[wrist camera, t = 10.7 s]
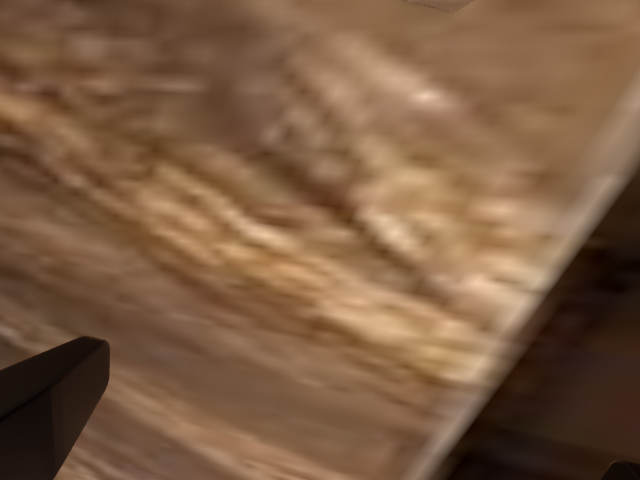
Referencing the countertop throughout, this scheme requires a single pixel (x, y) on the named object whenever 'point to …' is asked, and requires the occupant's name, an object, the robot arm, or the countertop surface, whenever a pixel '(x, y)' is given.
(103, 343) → the robot arm
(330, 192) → the countertop surface
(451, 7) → the socket block
